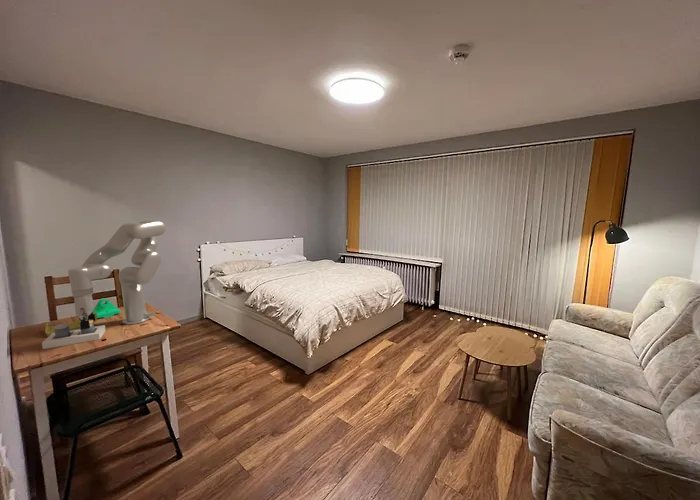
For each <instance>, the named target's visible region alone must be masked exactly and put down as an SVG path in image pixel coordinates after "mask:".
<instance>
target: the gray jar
mask: <svg viewBox="0 0 700 500" xmlns="http://www.w3.org/2000/svg"><path fill="white" fill-rule="evenodd" d="M94 323H95V322H94ZM94 323H93V320H89V324H90V328H88V329H81V326H80V330H81V335H82V334H88V333H95V330H94V327H95V325H94Z"/></svg>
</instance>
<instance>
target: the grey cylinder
mask: <svg viewBox="0 0 700 500" xmlns="http://www.w3.org/2000/svg"><path fill="white" fill-rule="evenodd" d="M54 326H55V327H54V330H55V336H56V339H58V338H64V337H70V336H71V335H70V329H69V324H66V323H60V324H57V325H54Z"/></svg>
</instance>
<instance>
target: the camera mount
mask: <svg viewBox="0 0 700 500" xmlns="http://www.w3.org/2000/svg"><path fill="white" fill-rule="evenodd" d="M93 311H94V313H95V312H97V319H101V318H103V319H106V318H109V317H110V318H111V317H114V316H115V315H117V314H120V313H121V309H119V308H117V307H116V306H115V305H114V304H113V303H112V302H111V301H110V300H109V299H107V298H101V299H99V300H98V301H97V304H96V305H95V306H94V310H93ZM94 313H93V314H94Z"/></svg>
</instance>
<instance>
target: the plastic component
mask: <svg viewBox="0 0 700 500" xmlns="http://www.w3.org/2000/svg"><path fill="white" fill-rule="evenodd" d="M94 315H95V321H93V323H95V322H96V321H97V319H98V318H97V312H95V313H94ZM85 318H86V317H85ZM65 324H69V329H70V330H76V329H80V321H79V319H78V320H75V321H70V322H67V323H65ZM55 326H56V325H54V326H53V325H52V326H51V325H50V324H49V323H45V329H44V330H45V334H46V336H47V338H48V337H49V336H50V335H51V334H52V333H55V330H54V327H55Z"/></svg>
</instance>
